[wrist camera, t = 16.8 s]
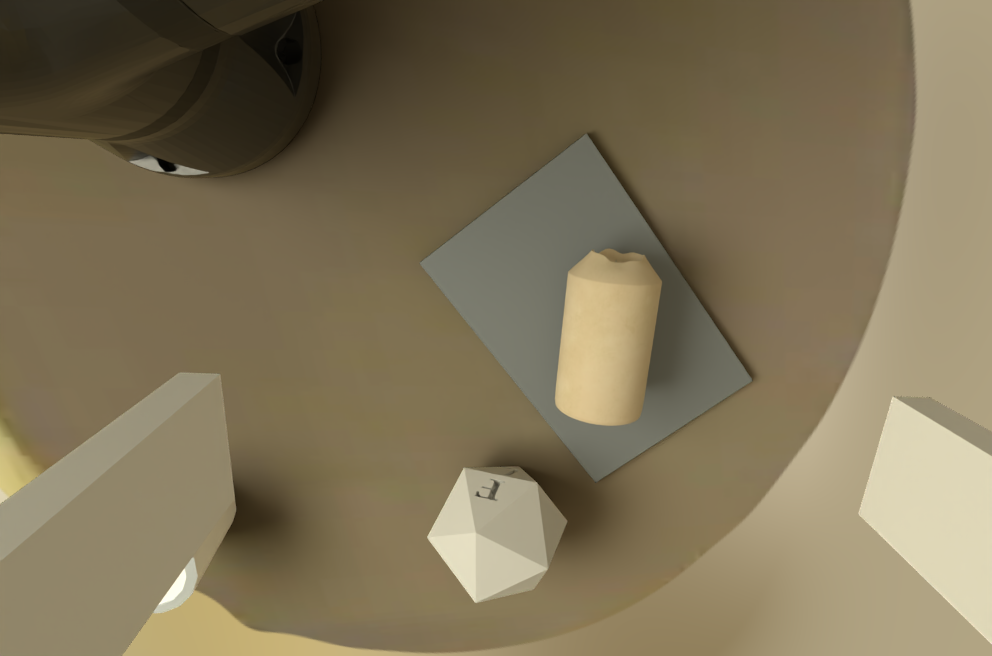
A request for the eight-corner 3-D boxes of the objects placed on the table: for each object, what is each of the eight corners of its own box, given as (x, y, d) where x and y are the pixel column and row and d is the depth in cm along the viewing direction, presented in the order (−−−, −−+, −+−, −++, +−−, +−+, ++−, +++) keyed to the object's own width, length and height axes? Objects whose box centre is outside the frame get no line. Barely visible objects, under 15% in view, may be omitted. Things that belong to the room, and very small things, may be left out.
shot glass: (261, 491, 41) (215, 555, 34) (220, 558, 42) (168, 632, 35) (174, 446, 39) (109, 502, 33) (135, 515, 41) (66, 583, 34)
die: (580, 478, 41) (554, 472, 32) (561, 602, 39) (528, 631, 30) (478, 458, 44) (429, 447, 35) (455, 573, 42) (398, 591, 33)
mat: (420, 261, 36) (419, 263, 35) (584, 134, 34) (586, 133, 33) (594, 478, 40) (595, 482, 40) (748, 377, 38) (752, 380, 38)
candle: (562, 425, 32) (582, 255, 30) (547, 389, 38) (562, 242, 35) (654, 428, 33) (681, 261, 30) (626, 392, 38) (647, 247, 35)
